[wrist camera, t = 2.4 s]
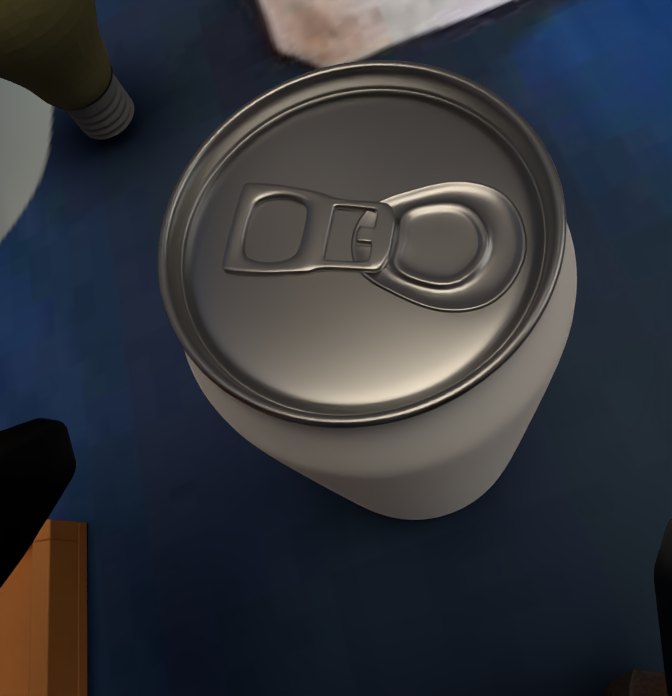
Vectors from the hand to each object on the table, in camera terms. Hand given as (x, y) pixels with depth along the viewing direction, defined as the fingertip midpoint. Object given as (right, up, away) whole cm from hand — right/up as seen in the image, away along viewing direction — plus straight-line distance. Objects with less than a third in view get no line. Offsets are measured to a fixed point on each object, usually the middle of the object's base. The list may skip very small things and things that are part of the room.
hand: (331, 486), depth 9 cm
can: (+3, 0, +11) cm, 11 cm away
